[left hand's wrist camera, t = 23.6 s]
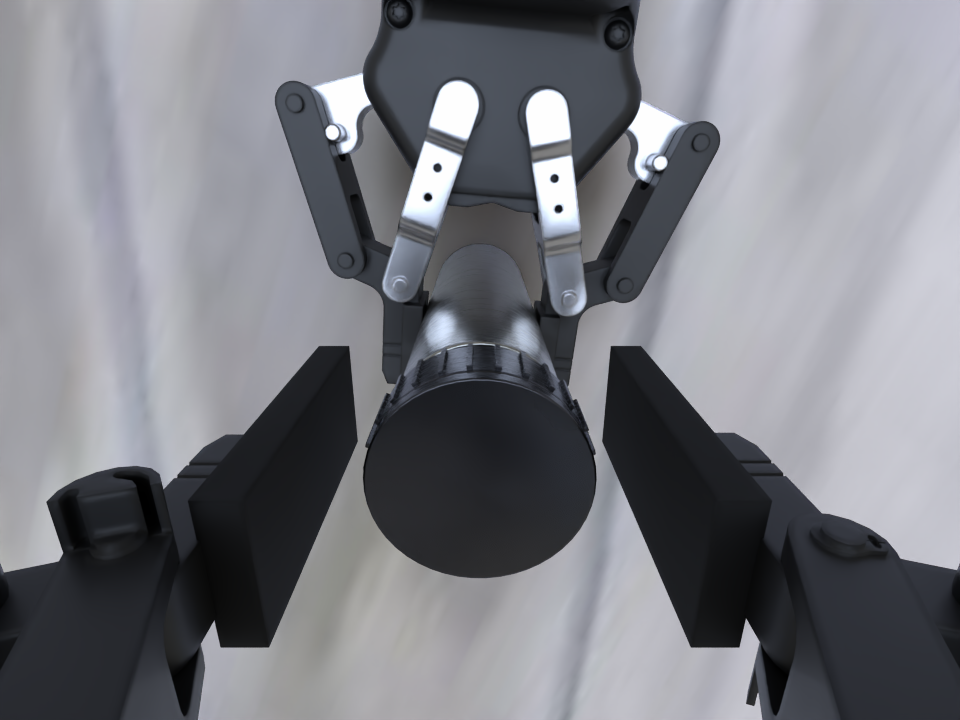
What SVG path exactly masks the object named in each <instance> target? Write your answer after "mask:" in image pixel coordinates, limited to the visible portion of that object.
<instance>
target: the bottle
mask: <svg viewBox="0 0 960 720" xmlns="http://www.w3.org/2000/svg"><path fill="white" fill-rule="evenodd" d="M469 343H473V346H490V347H494V346H495V344H498V345H500V348H504V349H507V350H511V351H515V352H518V353H520V351H524V352H526V356H527V357H529V358H531V359H533V360H535V361H536V362H538V363H540V364H541V365H542V364H543V363H546V364H547V365H548V367H549V370H550V371H551V372H552V373H553V374H554V375H555V376H556V373H555V370H554V367H553V364H552V361H551V359H550V356H549V353H548V350H547V347H546V344H545V341H544V338H543V336H542V333H541V330H540V327H539V324H538V321H537V318H536V316H535V313H534V310H533V307H532V304H531V301H530V298H529V296H528V293H527V290H526V287H525V284H524V281H523V278H522V275H521V273H520V270H519V268H518V266H517V264H516V263H515V261H514V260H513V259H512V257H511V256H510V255H508V254H507V253H506V252H505V251H503V250H502V249H500V248H498V247H495V246H492V245H488V244H472V245H468V246H465V247H462V248H460V249H458V250H457V251H455V252H454V253H453V254H452V255H450V256H449V257H448V259H447V260H446V261H445V263H444V264H443V266H442V268H441V270H440V273H439V276H438V278H437V281H436V284H435V287H434V290H433V293H432V295H431V298H430V301H429V304H428V307H427V310H426V313H425V315H424V318H423V321H422V324H421V327H420V330H419V333H418V335H417V338H416V341H415V344H414V347H413V350H412V352H411V355H410V358H409V361H408V364H407V367H406V370H405V372H404V376H405V375H406V374H407V373H408V372H409V371H410V370H412V369H413V368H414V367H416V366H417V362H418V360H420V359H423V360H424V361H425V360H427V359H429V358H430V357H432V356H434V355H437V354H440V353H441V350H442V349H444V348H447V351H448V350H452V349H456V348H461V347H468V344H469ZM556 377H557V376H556Z"/></svg>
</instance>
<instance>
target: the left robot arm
mask: <svg viewBox="0 0 960 720" xmlns="http://www.w3.org/2000/svg"><path fill="white" fill-rule="evenodd" d="M357 442H358V440H357V429H356V417H355V406H354V395H353V384H352V373H351V362H350V351H349V346H319V347H318V348H317V349H316V350H315V352H314V353H313V354H312V355H311V356H310V357H309V359H308V360H307V361H306V362H305V363H304V364H303V366H302V367H301V368H300V369H299V370H298V372H297V373H296V374H295V375H294V376H293V377H292V379H291V380H290V381H289V382H288V383H287V384H286V386H285V387H284V388H283V389H282V390H281V392H280V393H279V394H278V395H277V396H276V397H275V399H274V400H273V401H272V402H271V403H270V404H269V406H268V407H267V408H266V409H265V410H264V411H263V413H262V414H261V415H260V416H259V417H258V419H257V420H256V421H255V422H254V423H253V424H252V426H251V427H250V428H249V429H248V430H247V431H246V433H245V434H244V435H225V436H223V437H221V438H219V439H218V440H216V441H214V442H212V443H211V444H209V445H207V446H205V447H204V448H203V449H202V450H201V451H200V452H199V453H198V454H197V455H196V456H195V457H194V458H193V459H192V460H191V461H190V462H189V466H186V467H185V468H184V469H183V470H182V471H181V472H180V473H179V474H178V475H177V476H178V477H177V478H174V479H173V480H172V481H171V482H170V483H169V484H168V485H167V487H166V488H165V489H164V490H163V486H162V482H161V478H160V474H159V473H157V472H156V471H154V470H153V469H151V468H146V467H139V466H130V467H117V468H113V469H109V470H104V471H100V472H96V473H93V474H91V475H88V476H86V477H83V478H80V479H78V480H75V481H74V482H72V483H70V484H69V485H67V486H65V487H63V488H62V489H60V490H58V491H57V492H56V493H55V494H54V495H53V496H52V497H51V498H50V499H49V500H48V501H47V505H48V508H49V511H50V514H51V517H52V520H53V523H54V526H55V529H56V532H57V535H58V538H59V541H60V544H61V547H62V550H63V555H62V557H61V559H60V561H59V562H55V563H50V564H45V565H40V566H35V567H30V568H25V569H20V570H15V571H10V572H5V573H4V572H3V569H2V567H1V564H0V720H198V714H199V707H200V700H201V693H202V686H203V679H204V671H205V664H204V656H203V652H202V648H201V642H202V641H203V639H204V637H205V635H206V634H207V632H208V630H209V628H210V627H211V625H212V623H213V622H214V620H215V624H216V629H217V633H218V638H219V642H220V647H269V646H270V644H271V642H272V639H273V637H274V635H275V632H276V630H277V628H278V625H279V623H280V621H281V618H282V616H283V614H284V611H285V609H286V607H287V604H288V602H289V600H290V597H291V595H292V593H293V591H294V588H295V586H296V584H297V581H298V579H299V577H300V574H301V572H302V570H303V567H304V565H305V563H306V560H307V558H308V556H309V553H310V551H311V549H312V546H313V544H314V542H315V539H316V537H317V535H318V532H319V530H320V528H321V525H322V523H323V521H324V518H325V516H326V514H327V511H328V509H329V507H330V505H331V502H332V500H333V498H334V495H335V493H336V491H337V488H338V486H339V484H340V481H341V479H342V477H343V474H344V472H345V470H346V467H347V465H348V463H349V460H350V458H351V456H352V453H353V451H354V449H355V446H356V444H357ZM602 442H603V444H604V446H605V449H606V451H607V453H608V456H609V458H610V460H611V463H612V465H613V467H614V470H615V472H616V474H617V477H618V479H619V481H620V484H621V486H622V488H623V491H624V493H625V495H626V498H627V500H628V502H629V505H630V507H631V509H632V511H633V514H634V516H635V518H636V521H637V523H638V525H639V528H640V530H641V532H642V535H643V537H644V539H645V542H646V544H647V546H648V549H649V551H650V553H651V556H652V558H653V560H654V563H655V565H656V567H657V570H658V572H659V574H660V577H661V579H662V581H663V584H664V586H665V588H666V591H667V593H668V595H669V597H670V600H671V602H672V604H673V607H674V609H675V611H676V614H677V616H678V618H679V621H680V623H681V625H682V628H683V630H684V632H685V635H686V637H687V639H688V642H689V644H690V646H691V647H740V642H741V638H742V633H743V629H744V624H745V620H746V619H747V620H748V622H749V624H750V626H751V627H752V629H753V631H754V633H755V634H756V636H757V638H758V639H759V641H760V643H759V648H758V652H757V656H756V660H755V664H754V668H753V672H752V676H751V681H750V685H749V689H748V694H747V702H746V704H749V705H752V706H754V705H755V701H756V697H757V693H759V698H760V705H761V712H762V720H960V564H959V567H958V569H957V570H953V569H948V568H943V567H938V566H933V565H928V564H923V563H918V562H913V561H908V560H904V559H900V558H899V556H898V554H897V552H896V551H895V550H894V549H893V548H892V546H891V545H890V544H889V543H888V542H887V540H885V539H884V538H882V537H881V536H880V535H878V534H877V533H875V532H874V531H872V530H871V529H869V528H867V527H865V526H863V525H860V524H858V523H856V522H854V521H852V520H849V519H845V518H842V517H838V516H834V515H830V514H822V513H821V512H820V511H819V510H818V509H817V508H816V507H815V506H814V505H813V504H812V503H811V502H810V501H809V500H808V499H807V498H806V496H805V495H804V494H803V493H802V492H801V491H800V490H799V489H798V488H797V487H796V486H795V485H794V484H793V483H792V482H791V481H790V480H789V479H788V478H787V477H786V476H783V472H782V471H781V470H780V469H779V468H778V467H777V466H776V465H775V464H771V460H770V459H769V458H768V457H767V456H766V455H765V454H764V453H763V452H762V451H761V450H760V449H759V447H758V446H757V445H755V444H753V443H751V442H749V441H748V440H746V439H744V438H742V437H741V436H739V435H737V434H735V433H714V431H713V430H712V429H711V428H710V427H709V426H708V424H707V423H706V422H705V421H704V420H703V419H702V417H701V416H700V415H699V414H698V413H697V411H696V410H695V409H694V408H693V407H692V406H691V404H690V403H689V402H688V401H687V400H686V399H685V397H684V396H683V395H682V394H681V393H680V392H679V390H678V389H677V388H676V387H675V386H674V384H673V383H672V382H671V381H670V380H669V379H668V377H667V376H666V375H665V374H664V373H663V372H662V370H661V369H660V368H659V367H658V366H657V364H656V363H655V362H654V361H653V360H652V359H651V357H650V356H649V355H648V354H647V353H646V352H645V350H644V349H643V348H642V347H641V346H611V351H610V362H609V373H608V384H607V395H606V406H605V417H604V428H603V440H602Z"/></svg>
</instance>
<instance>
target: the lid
mask: <svg viewBox="0 0 960 720" xmlns="http://www.w3.org/2000/svg"><path fill="white" fill-rule="evenodd" d="M588 431H589V429H588V426H587V424H586V421H585V419H584V416H583V414H582V411H581V409H580V406H579V404H578V401H577V399H575V400H572V397H571V395H570V392H569V389H568V387H567V384H566V382H565V381H564V380H563V379H562V380H561V381H560V380H559V379H558V378H557V377H556V376H555V375H554V374H553V373H552V372H551V371H550V370H549V367H548V365H547V364H546V363H543V364H542V365H541V364H540V363H538V362H536V361H535V360H533V359H531V358H529V357H527V356H526V352H524V351H520V353H518V352H515V351H511V350H507V349H504V348H500V345H498V344H495V346H494V347H490V346H473V343H469V344H468V347H461V348H456V349H452V350H448V351H447V348H444V349H442V350H441V353H440V354H437V355H434V356H432V357H430V358H429V359H427V360H425V361H424V360H423V359H420V360H418V362H417V366H416V367H414V368H413V369H412V370H410V371H409V372H408V373H407V374H406V375H405V376H404V375H403V374H401V375H400V376H399V377H398V380H397V383H396V385H395V388H394V389H393V391H392V392H391V394H388V393H386V395H385V397H384V399H383V402H382V404H381V407H380V409H379V412H378V414H377V417H376V419H375V422H374V424H373V427H372V429H371V432H370V434H369V437H368V439H367V442H366V446H365V447H367V448H368V450H367V454H366V458H365V462H364V467H363V471H364V472H363V484H364V493H365V497H366V501H367V505H368V507H369V510H370V512H371V515H372V517H373V519H374V521H375V522H376V524H377V526H378V528H379V529H380V530H381V532H382V533H383V534H384V536H385V537H386V538H387V539H388V540H389V541H390V542H391V543H392V544H393V545H394V546H395V547H396V548H397V549H398V550H400V551H401V552H402V553H403V554H405V555H406V556H407V557H409V558H411V559H412V560H414V561H416V562H417V563H419V564H421V565H423V566H425V567H428V568H430V569H432V570H435V571H438V572H441V573H445V574H449V575H454V576H459V577H467V578H492V577H501V576H506V575H511V574H515V573H518V572H521V571H524V570H527V569H530V568H532V567H534V566H536V565H539V564H541V563H542V562H544V561H546V560H547V559H549V558H551V557H552V556H554V555H555V554H556V553H558V552H559V551H560V550H561V549H563V548H564V547H565V546H566V545H567V544H568V543H569V542H570V541H571V540H572V539H573V537H574V536H575V535H576V534H577V532H578V531H579V530H580V528H581V527H582V525H583V523H584V522H585V520H586V518H587V516H588V514H589V511H590V509H591V506H592V503H593V499H594V495H595V490H596V465H595V460H594V455H595V454H596V453H595V449H594V446H593V444H592V441H591V439H590V436H589V434H588Z"/></svg>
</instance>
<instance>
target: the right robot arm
mask: <svg viewBox="0 0 960 720" xmlns="http://www.w3.org/2000/svg"><path fill="white" fill-rule="evenodd" d="M639 6H640V0H382V12H381V23H380V27H379V31H378V35H377V38H376V40H375V43H374V45H373V47H372V49H371V50H370V52H369V54H368V56H367V58H366V60H365V63H364V68H363V73H360V74H356V75H352V76H349V77H345V78H341V79H337V80H334V81H330V82H326V83H322V84H319V85H315V86H308V85H306V84H303V83H301V82H298V81H289V82H286V83H284V84H282V85H281V86H280V87H279V89H278V90H277V93H276V96H275V106H276V109H277V112H278V115H279V118H280V121H281V124H282V127H283V130H284V133H285V136H286V139H287V142H288V145H289V148H290V151H291V154H292V157H293V160H294V163H295V166H296V169H297V172H298V175H299V178H300V181H301V184H302V187H303V190H304V193H305V196H306V199H307V202H308V205H309V208H310V211H311V214H312V217H313V220H314V223H315V226H316V229H317V232H318V235H319V238H320V241H321V244H322V247H323V250H324V253H325V256H326V259H327V262H328V265H329V267H330V269H331V271H332V272H333V273H334V274H336V275H337V276H339V277H341V278H345V279H350V278H354V279H356V280H358V281H360V282H363V283H365V284H367V285H369V286H371V287H373V288H374V289H375V290H376V291H377V292H378V293H379V294H380V296H381V297H382V300H383V304H384V319H383V358H382V371H383V373H384V376H385V379H386V381H387V383H390V384H396V383H397V380H398V377H399V376H400V375H401V374H403V375H404V372H405V370H406V367H407V364H408V361H409V358H410V355H411V352H412V350H413V347H414V344H415V341H416V338H417V335H418V333H419V330H420V327H421V324H422V321H423V318H424V315H425V313H426V310H427V307H428V297H429V291H423V283H424V276H425V273H426V270H427V267H428V264H429V261H430V258H431V255H432V252H433V250H434V247H435V244H436V241H437V238H438V235H439V232H440V230H441V227H442V224H443V221H444V218H445V216H446V213H447V210H448V207H449V205H450V206H461V207H471V206H476V205H481V204H487V203H496V204H498V205H501V206H504V207H506V208H509V209H512V210H514V211H517V212H528V213H531V215H532V222H533V228H534V234H535V238H536V243H537V249H538V255H539V262H540V269H541V275H542V282H543V289H542V297H541V301H535V303H534V313H535V316H536V318H537V321H538V324H539V327H540V330H541V333H542V336H543V338H544V341H545V344H546V347H547V350H548V353H549V356H550V359H551V361H552V364H553V367H554V370H555V373H556V376H557V378H558V379H559V380H560V381H561V380H562V379H563V380H564V381H565V382H566V384H567V387H568V385H569V379H570V372H571V366H572V359H573V353H574V347H575V340H576V334H577V327H578V322H579V319H580V317H581V316H582V314H583V313H584V312H585V311H586V310H587V309H588V308H590V307H592V306H595V305H598V304H602V303H606V302H610V301H613V300H614V301H616V302H619V303H627V302H630V301H632V300H634V299H635V298H637V297H638V295H639V294H640V293H641V291H642V289H643V287H644V285H645V283H646V282H647V280H648V278H649V276H650V274H651V272H652V271H653V269H654V267H655V265H656V263H657V261H658V259H659V258H660V256H661V254H662V252H663V250H664V248H665V247H666V245H667V243H668V241H669V239H670V237H671V235H672V234H673V232H674V230H675V228H676V226H677V224H678V223H679V221H680V219H681V217H682V215H683V213H684V211H685V210H686V208H687V206H688V204H689V202H690V200H691V199H692V197H693V195H694V193H695V191H696V189H697V187H698V186H699V184H700V182H701V180H702V178H703V176H704V175H705V173H706V171H707V169H708V167H709V165H710V163H711V162H712V160H713V158H714V156H715V154H716V152H717V150H718V148H719V145H720V134H719V132H718V130H717V128H716V127H715V126H714V125H713V124H711V123H709V122H706V121H700V122H686V121H684V120H682V119H679V118H677V117H675V116H673V115H671V114H669V113H667V112H665V111H663V110H661V109H659V108H657V107H655V106H653V105H651V104H649V103H647V102H645V101H643V100H641V85H640V81H639V78H638V75H637V72H636V69H635V64H634V56H633V43H634V36H635V30H636V24H637V18H638V12H639ZM373 108H374V110H375V111H376V113H377V115H378V116H379V118H380V120H381V121H382V123H383V125H384V126H385V128H386V129H387V131H388V133H389V134H390V136H391V138H392V139H393V141H394V143H395V144H396V146H397V147H398V149H399V151H400V152H401V154H402V156H403V157H404V159H405V161H406V162H407V164H408V166H409V167H410V169H411V170H412V172H413V174H414V176H413V179H412V182H411V185H410V188H409V192H408V195H407V198H406V201H405V204H404V207H403V211H402V214H401V217H400V221H399V225H398V231H397V235H396V238H395V241H394V244H393V248H391V247H388V246H386V245H384V244H382V243H380V242H377V241H375V237H374V234H373V231H372V227H371V224H370V220H369V217H368V214H367V210H366V207H365V204H364V200H363V197H362V194H361V190H360V187H359V184H358V180H357V177H356V174H355V170H354V167H353V164H352V160H351V157H350V154H351V153H354V152H356V151H357V150H358V149H359V148H360V146H361V145H362V142H363V129H362V124H363V119H364V117H365V115H366V114H367V113H368V112H369V111H370V110H371V109H373ZM623 133H625V134H626V135H627V136H628V138H629V140H630V144H631V151H630V155H629V158H628V164H627V166H628V171H629V173H630V175H631V176H632V177H633V178H634V179H636V182H635V184H634V186H633V188H632V190H631V192H630V194H629V196H628V198H627V200H626V202H625V204H624V206H623V208H622V210H621V212H620V214H619V216H618V218H617V220H616V222H615V224H614V226H613V228H612V230H611V232H610V234H609V236H608V238H607V240H606V242H605V244H604V246H603V248H602V250H601V252H600V254H599V256H598V258H597V260H595V261H591V262H587V263H583V261H582V253H581V243H582V233H581V224H580V216H579V208H578V199H577V191H576V186H577V185H578V184H579V183H580V182H581V181H582V180H583V178H584V177H585V176H586V175H587V174H588V173H589V172H590V171H591V169H592V168H593V167H594V166H595V165H596V164H597V163H598V161H599V160H600V159H601V158H602V157H603V156H604V155H605V154H606V152H607V151H608V150H609V149H610V148H611V147H612V146H613V145H614V143H615V142H616V141H617V140H618V139H619V138H620V137H621V136H622V134H623Z"/></svg>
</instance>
